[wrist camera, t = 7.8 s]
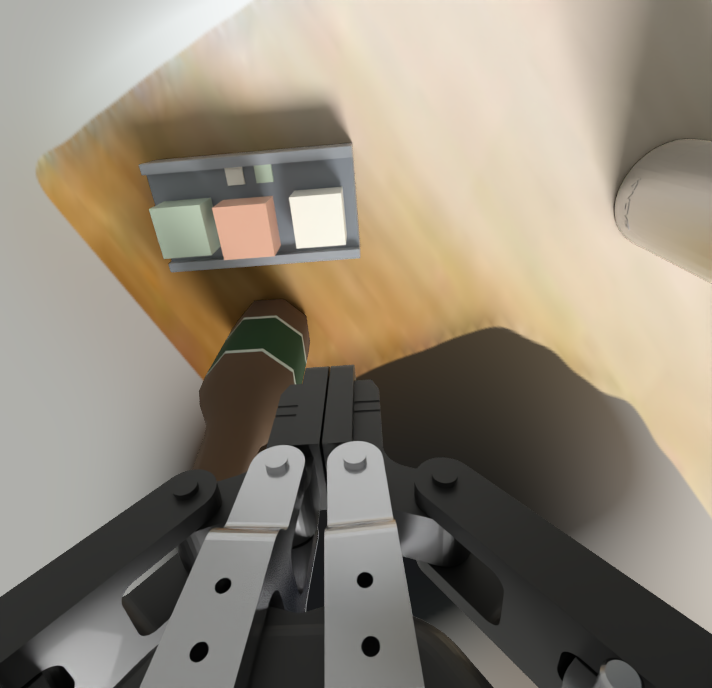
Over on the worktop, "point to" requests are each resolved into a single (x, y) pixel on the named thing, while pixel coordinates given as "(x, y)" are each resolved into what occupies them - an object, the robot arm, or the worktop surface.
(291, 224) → the grey tray
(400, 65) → the worktop surface
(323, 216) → the key ivory
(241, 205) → the key terracotta
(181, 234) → the key sage
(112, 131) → the worktop surface
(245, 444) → the beer bottle
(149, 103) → the worktop surface
